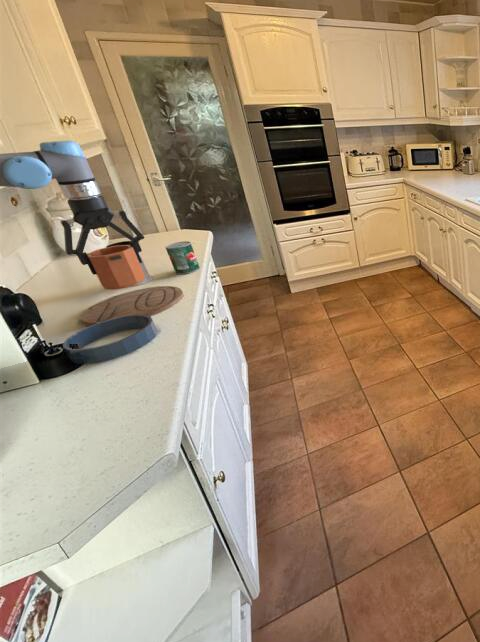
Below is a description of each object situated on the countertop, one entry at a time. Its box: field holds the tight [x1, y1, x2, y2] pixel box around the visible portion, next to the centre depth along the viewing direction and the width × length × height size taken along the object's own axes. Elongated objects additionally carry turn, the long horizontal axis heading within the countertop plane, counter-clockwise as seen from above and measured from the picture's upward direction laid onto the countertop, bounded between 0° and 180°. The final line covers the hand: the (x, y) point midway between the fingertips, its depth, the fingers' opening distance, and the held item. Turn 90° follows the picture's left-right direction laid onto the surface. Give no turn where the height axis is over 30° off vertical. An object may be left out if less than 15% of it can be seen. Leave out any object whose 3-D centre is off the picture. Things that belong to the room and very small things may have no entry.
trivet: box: [80, 285, 185, 328], centre depth 128 cm, size 25×25×2 cm
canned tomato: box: [164, 240, 201, 275], centre depth 155 cm, size 8×8×11 cm
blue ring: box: [62, 315, 159, 365], centre depth 106 cm, size 17×17×6 cm
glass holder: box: [105, 240, 153, 288], centre depth 147 cm, size 9×14×15 cm, turn 30°
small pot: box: [87, 245, 146, 291], centre depth 123 cm, size 13×10×11 cm
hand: (117, 267), depth 123 cm, fingers closed on small pot, 10 cm apart
